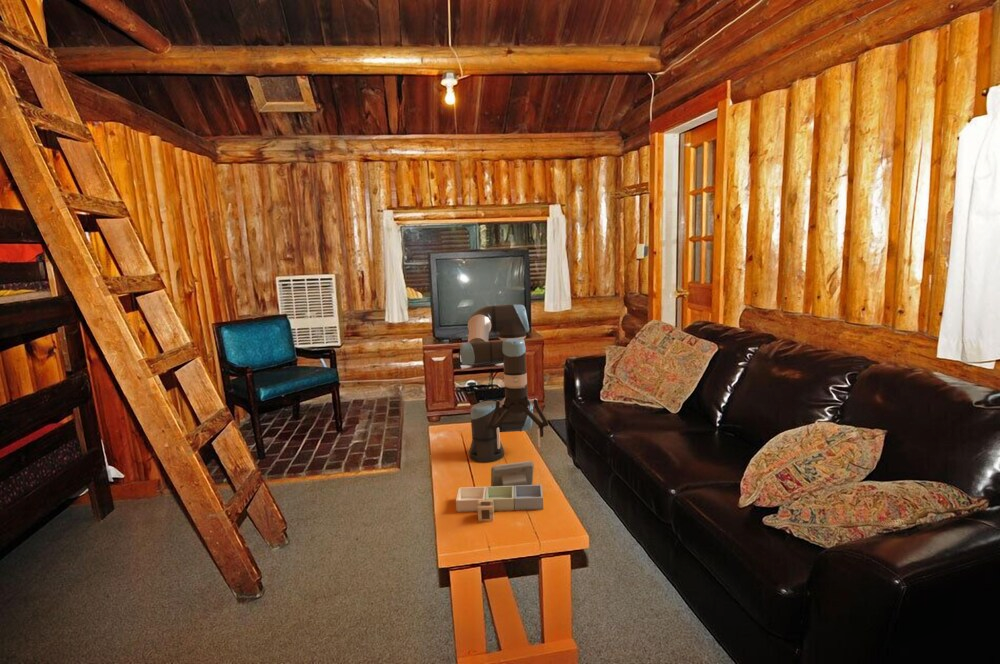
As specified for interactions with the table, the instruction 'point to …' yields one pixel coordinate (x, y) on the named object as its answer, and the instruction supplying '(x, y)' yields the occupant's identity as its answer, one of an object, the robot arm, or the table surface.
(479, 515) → the letter cube
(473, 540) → the table surface
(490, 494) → the box
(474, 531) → the table surface
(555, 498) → the table surface
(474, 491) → the caddy cream
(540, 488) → the box
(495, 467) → the digital clock
